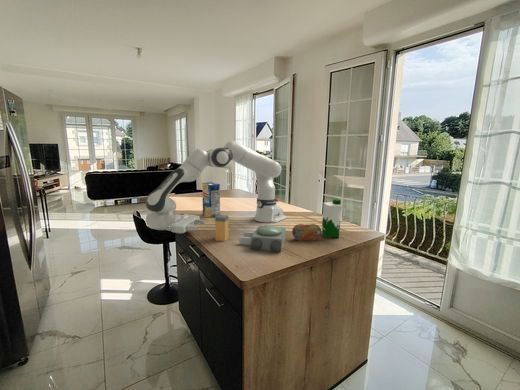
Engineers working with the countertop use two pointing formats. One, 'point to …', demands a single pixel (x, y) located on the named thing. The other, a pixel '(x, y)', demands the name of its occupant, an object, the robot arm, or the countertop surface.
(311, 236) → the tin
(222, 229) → the orange gray block
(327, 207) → the milk carton
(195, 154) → the robot arm
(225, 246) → the countertop surface
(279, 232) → the gray toy machine
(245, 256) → the countertop surface
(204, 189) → the beverage box
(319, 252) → the countertop surface
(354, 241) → the countertop surface
